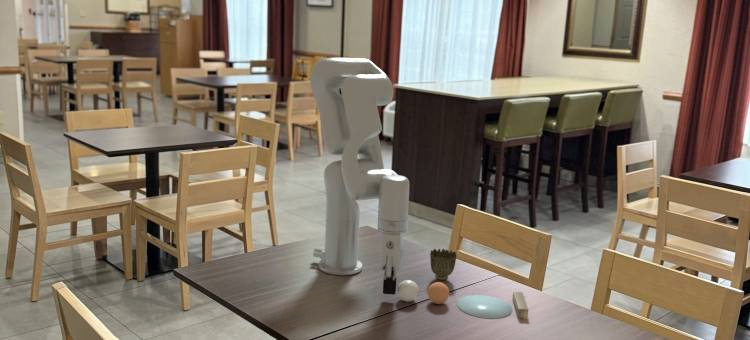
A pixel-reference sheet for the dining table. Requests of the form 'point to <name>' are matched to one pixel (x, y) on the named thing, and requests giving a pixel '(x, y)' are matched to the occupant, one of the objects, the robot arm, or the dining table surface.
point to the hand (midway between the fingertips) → (389, 292)
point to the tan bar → (520, 305)
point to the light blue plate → (484, 306)
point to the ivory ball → (408, 290)
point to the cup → (442, 263)
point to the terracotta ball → (438, 293)
